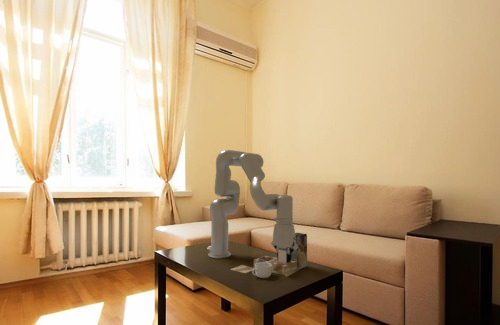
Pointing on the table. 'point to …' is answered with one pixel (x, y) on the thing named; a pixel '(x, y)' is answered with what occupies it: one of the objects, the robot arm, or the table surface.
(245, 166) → the robot arm
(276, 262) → the socket board
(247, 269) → the mat
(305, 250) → the coffee box
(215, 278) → the table surface
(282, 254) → the plug
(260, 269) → the teacup
